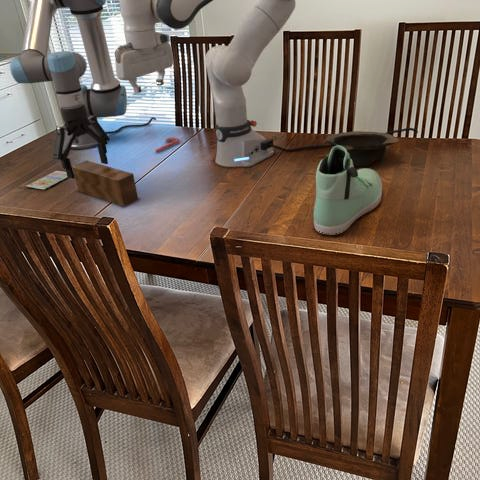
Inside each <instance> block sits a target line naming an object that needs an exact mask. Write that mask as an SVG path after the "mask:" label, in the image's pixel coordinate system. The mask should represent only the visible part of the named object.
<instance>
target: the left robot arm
mask: <svg viewBox="0 0 480 480" xmlns="http://www.w3.org/2000/svg"><path fill="white" fill-rule="evenodd" d="M106 3H107V0H26V5H27V7H28V13H27V19H26V23H25V29H24V36H23V42H22V49H21V55H20V57H17V58H12V59H11V60H10V61H9V62H10V63H9V69H10V74H11V76H12V78H13V80H14V81H15V82H16V83H18V84H38V83H46V82H52V83H53V87H54V91H55V94H56V99H57V102H58V106H59V107H60V113H61V117H62V120H63V123H64V125H62V126H60V125H59V126H58V125H57V126H55V132H56V135H55V136H56V137H55V144H54V151H53V159H55V160H59V161H60V163H61V166H62V167H61V168H62V169H64V170H65V172H66V173H67V178H68V179H75V175H74V172H73V168H72V162H71V159H70V158H69V154H70V151H71V150H85V149H92V148H94V147H97V151H98V155H99V160H100V163H101V164H102V165H108V164H109V160H108V157H107V153H108V149H107V145H108V142H110V140H111V138H110V136H109V134H111V135H112V134H117V133H119V132H120V131H121V130H123V129H125V128H135V127H137V128H138V127H139V128H141V127H146V126H148V125H150V124H151V122H152V121H153V120H154V121H157V118H156V117H150V119H149V120H148V122H146V123H142V124H126V125H123V126H120V127H119V128H117V129H116V130H112V131H111V130H110V131H105V130H104V128H103V127H102V125H101V124H100V123H99V121H98V119H100V118H101V119H102V118H113V117H115V118H117V117H121V116H124V115H125V114H127V108H128V98H127V97H128V96H127V89H126V86H125V85H121V80H120V79H119V78H117V77H116V76H115V72H114V68H113V64H112V60H111V55H110V51H109V46H108V42H107V38H106V34H105V29H104V25H103V20H102V16H101V15H102V12H103V11H104V5H106ZM67 8H69V11H70V14H71V15H72V17H74V18H76V21H77V25H78V28H79V33H80V36H81V41H82V44H83V48H84V52H85V55H86V59H87V60H86V59H85V57H84V56H83V55H82V54H81V53H79V52H77V51H69V50H68V51H67V50H66V51H65V50H63V51H62V50H61V51H55V52H52V53H49V54H48V50H49V45H50V44H49V43H50V37H51V31H52V24H53V23H52V22H53V16H55V15H56V13H57V11H58V9H67ZM87 63H88V64H87ZM88 67H89V71H90V74H91V78H92V82H91V84H90V88H88V86H87V85H86V84H81V81H80V78H82V77H83V76H84V75H85V73H86V71H87V68H88Z"/></svg>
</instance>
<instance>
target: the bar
mask: <svg viewBox="0 0 480 480" xmlns="http://www.w3.org/2000/svg"><path fill="white" fill-rule="evenodd" d="M71 166H72V165H71ZM72 170H73V173H74V177H75V178H74V180H75V182H76V186H77V187H76V188H77V190H78V192H80V193H83V194H86V195H88V196H92V197H94V198H97V199H101V200H103V201H106V202H108V203H111V204H114V205H116V206H117V205H118V206H121V207H124V208H126V207H127V206H129V205H131V204H133V203H135V202H136V201H137V202H138V200H139V197H138V189H137V185H136V182H135V176H134V173H132V172H129V171H125V170H122V169H119V168H114V167H111V166H108V165H105V164H102V163H101V164H100V163H97V162H95V161H90V160H88V159H87V160H84V161H82V162H79V163H77V164H75V165H73V166H72Z"/></svg>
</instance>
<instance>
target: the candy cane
mask: <svg viewBox="0 0 480 480" xmlns="http://www.w3.org/2000/svg"><path fill="white" fill-rule="evenodd" d="M164 142H165V143H166V144H164V145H162V146H160V147H157V148H156V149H155V153H160V152H162V151H165V150H166V149H168V148H171V147H172V146H175V145H176V144H179V143H180V138H179V137H177V136H172V137H168V138H166V139H165V140H164Z"/></svg>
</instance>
